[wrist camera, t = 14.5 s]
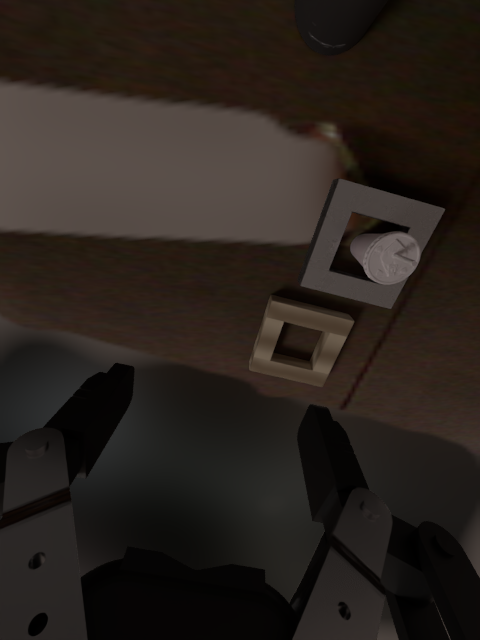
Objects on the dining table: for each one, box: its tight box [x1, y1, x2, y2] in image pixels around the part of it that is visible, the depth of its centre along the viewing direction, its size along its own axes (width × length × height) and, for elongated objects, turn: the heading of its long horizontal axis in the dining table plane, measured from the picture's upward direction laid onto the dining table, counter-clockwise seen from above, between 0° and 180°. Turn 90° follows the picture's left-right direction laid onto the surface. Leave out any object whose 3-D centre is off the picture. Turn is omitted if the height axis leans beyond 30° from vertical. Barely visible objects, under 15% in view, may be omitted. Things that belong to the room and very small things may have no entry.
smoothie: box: [350, 231, 421, 285], centre depth 34 cm, size 6×6×14 cm
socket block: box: [249, 295, 355, 387], centre depth 46 cm, size 14×14×3 cm
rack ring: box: [298, 178, 445, 309], centre depth 39 cm, size 15×15×3 cm
